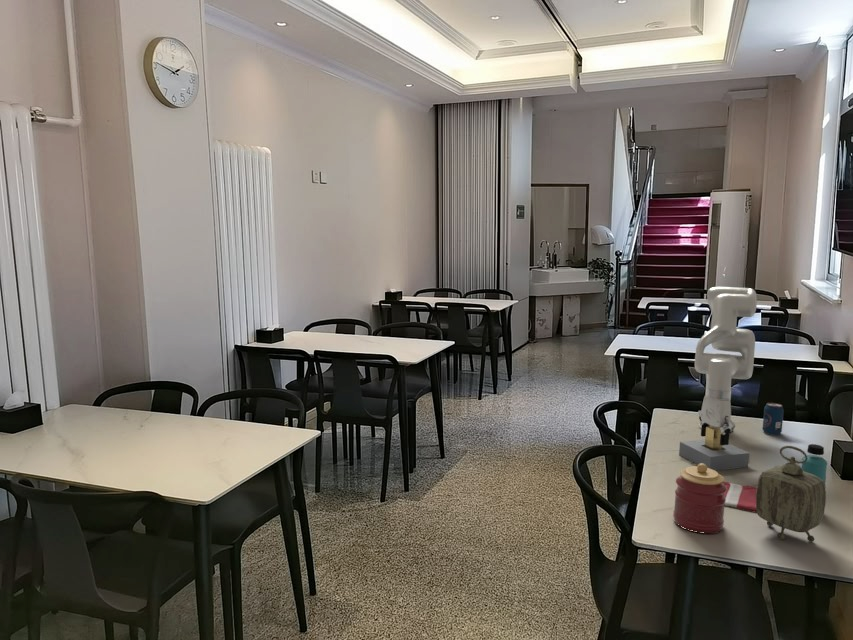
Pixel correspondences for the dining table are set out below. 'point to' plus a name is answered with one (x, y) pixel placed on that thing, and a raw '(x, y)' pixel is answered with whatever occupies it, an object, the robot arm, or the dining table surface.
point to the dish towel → (740, 496)
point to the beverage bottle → (815, 462)
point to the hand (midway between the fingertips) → (714, 440)
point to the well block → (714, 455)
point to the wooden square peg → (713, 438)
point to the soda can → (773, 418)
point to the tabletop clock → (791, 497)
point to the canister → (700, 499)
